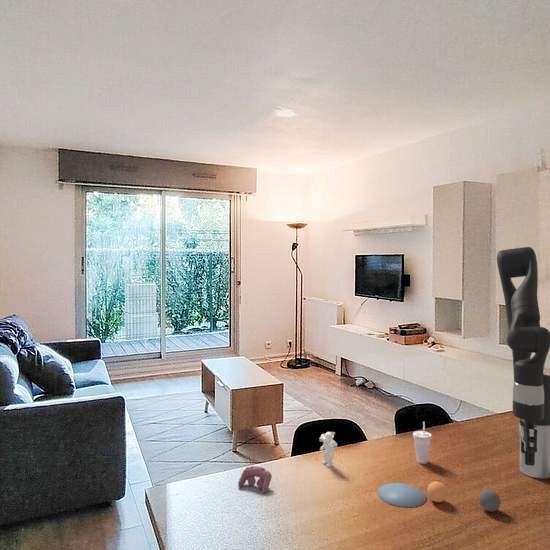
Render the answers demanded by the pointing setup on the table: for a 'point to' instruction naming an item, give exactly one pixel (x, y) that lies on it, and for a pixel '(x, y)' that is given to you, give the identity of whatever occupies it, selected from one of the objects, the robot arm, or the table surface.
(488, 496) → the grey ball
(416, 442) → the smoothie
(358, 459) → the table surface
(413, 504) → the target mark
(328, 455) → the white humanoid figurine
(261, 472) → the red animal figurine
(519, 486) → the table surface
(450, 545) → the table surface
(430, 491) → the object ball
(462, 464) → the table surface
